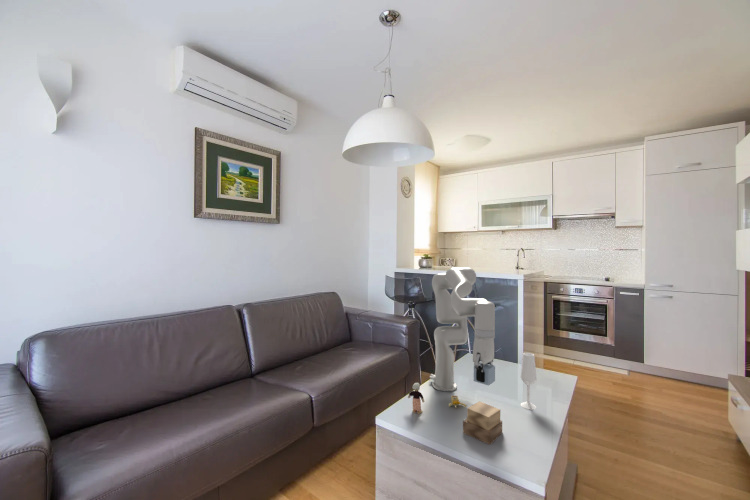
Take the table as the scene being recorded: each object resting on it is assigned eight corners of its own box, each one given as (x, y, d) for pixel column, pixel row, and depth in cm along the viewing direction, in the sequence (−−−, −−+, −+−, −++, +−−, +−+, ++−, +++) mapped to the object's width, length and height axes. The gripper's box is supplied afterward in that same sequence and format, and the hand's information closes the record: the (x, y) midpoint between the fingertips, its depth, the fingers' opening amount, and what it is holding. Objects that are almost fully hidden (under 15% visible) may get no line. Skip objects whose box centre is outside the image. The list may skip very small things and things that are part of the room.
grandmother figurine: (425, 411, 142) (425, 382, 142) (423, 415, 139) (424, 385, 139) (408, 408, 145) (408, 380, 145) (406, 412, 141) (406, 383, 141)
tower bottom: (463, 433, 125) (463, 421, 125) (475, 423, 133) (475, 411, 133) (490, 445, 118) (490, 432, 118) (502, 433, 126) (502, 420, 126)
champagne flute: (538, 410, 144) (538, 357, 144) (522, 408, 145) (522, 355, 146) (533, 403, 151) (534, 352, 151) (518, 401, 152) (519, 351, 152)
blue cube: (473, 381, 125) (473, 365, 125) (480, 376, 130) (480, 362, 130) (488, 385, 121) (488, 369, 121) (495, 381, 125) (495, 365, 126)
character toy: (449, 402, 144) (446, 394, 152) (449, 409, 144) (446, 401, 152) (467, 403, 143) (463, 395, 151) (467, 410, 143) (463, 402, 151)
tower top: (467, 420, 125) (467, 408, 125) (479, 413, 131) (479, 401, 131) (488, 430, 119) (488, 417, 119) (500, 422, 125) (500, 409, 125)
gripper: (485, 327, 134) (484, 370, 134) (465, 335, 122) (464, 382, 122) (502, 330, 129) (502, 375, 129) (484, 339, 117) (483, 388, 117)
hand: (484, 378), depth 125 cm, fingers closed on blue cube, 6 cm apart
